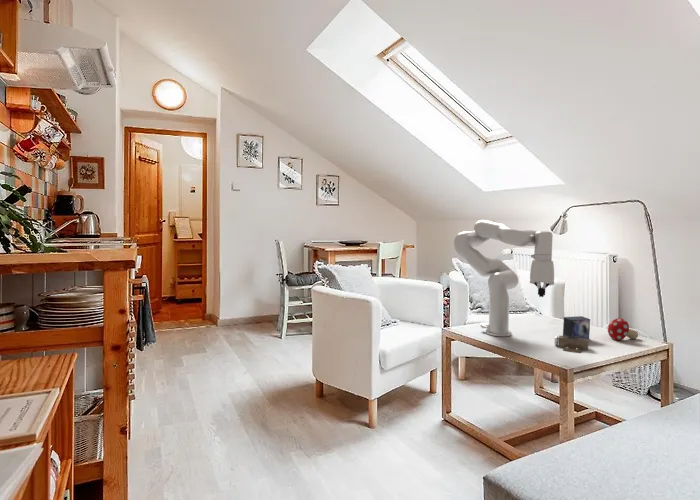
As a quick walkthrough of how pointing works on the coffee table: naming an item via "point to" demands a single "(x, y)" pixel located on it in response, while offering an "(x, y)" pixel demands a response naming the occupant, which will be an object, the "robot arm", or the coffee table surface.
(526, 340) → the coffee table surface
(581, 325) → the small box
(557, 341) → the hinge pin
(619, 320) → the decorative mushroom
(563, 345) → the hinge
